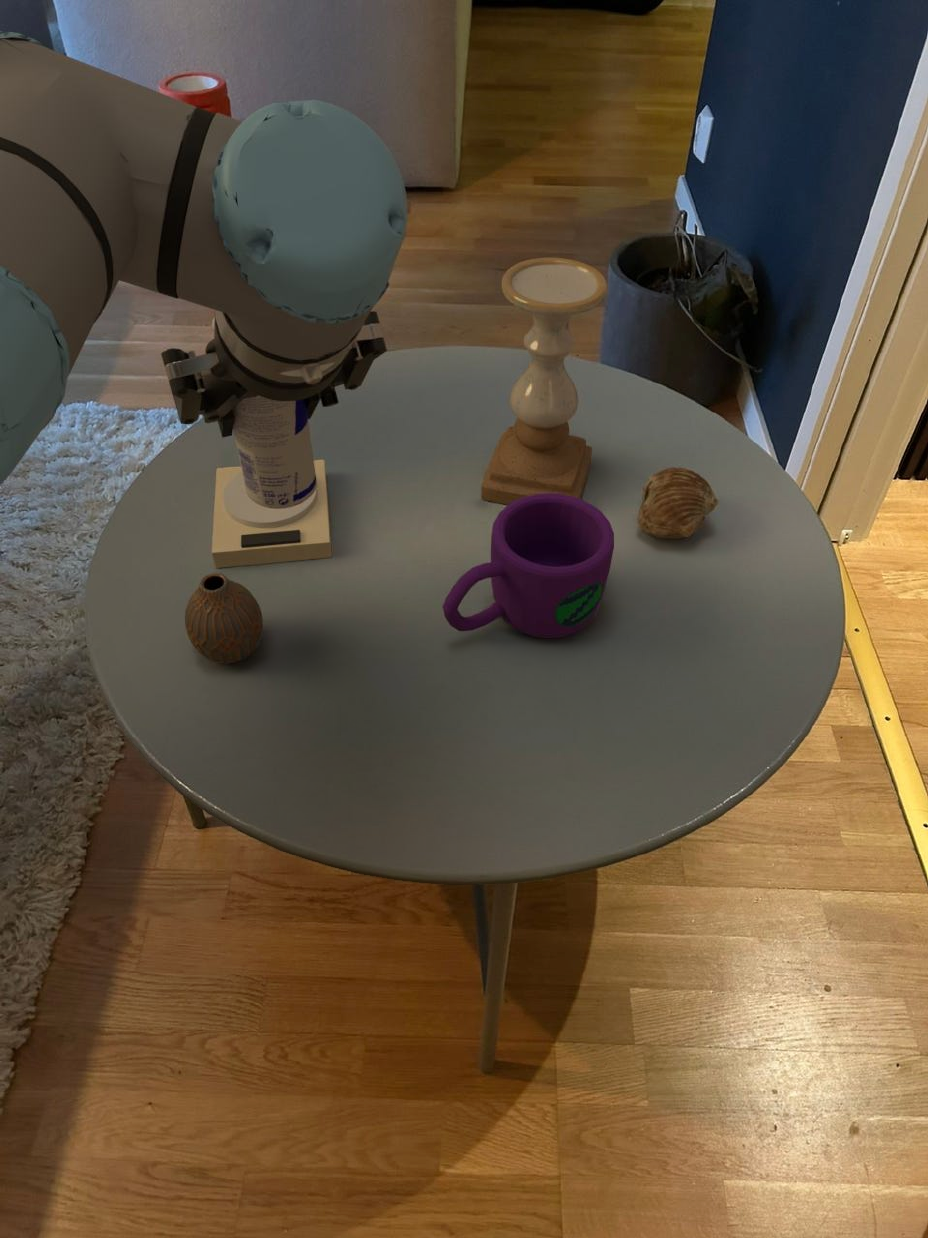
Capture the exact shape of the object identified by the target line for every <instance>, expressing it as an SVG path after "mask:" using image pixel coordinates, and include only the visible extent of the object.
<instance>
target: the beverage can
mask: <svg viewBox="0 0 928 1238" xmlns="http://www.w3.org/2000/svg"><path fill="white" fill-rule="evenodd" d="M214 323H215V316H214V317H213V319H212V321H211V327H212V330H213V332H214ZM232 412H233V415H234V424H233V434H234V435H233V436H234V439H235V444H236V449H237V452H238V459H239V463H240V464H239V465H240V466H241V468H242V473H243V478H244V483H245V487H246V492H247V495H248V497H249V498H250V499H251V500H252V501H253V502H255V503H256V504H258V505H261V506H264V507H267V508H272V509H283V508H289V507H293V506H296V505H299V504H301V503H303V502H304V501H306V500H307V499H308V498H309V497H310V496H311V495H312V494H313V493H314V491H315V490H316V487H317V480H316V473H315V466H314V460H315V459H314V454H313V453H314V452H313V446H312V437H311V431H310V423H309V419H308V415H307V408H306V401H305V399H301V400H296V401H276V400H271V399H267V398H264V397H261V396H259V395H258V396H257V397H251V398H244V399H243V400H242V401H241V402H239V403H238V404H237V405H236V406H235V407H234V408H233V409H232Z"/></svg>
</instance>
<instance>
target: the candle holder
mask: <svg viewBox="0 0 928 1238" xmlns="http://www.w3.org/2000/svg"><path fill="white" fill-rule="evenodd" d="M501 291H502V294H503V296H504V297H505V298H506V300H507V301H508V302H510V304H512V305H513V306H515V307H517V308H518V309H521V310H523V311H526V312H528V313H530V314H531V315H532V321H533V323H532V326H531V327H530V329H529V330H528V331H527V332H526V333H525V335H524V337H523V346H524V348H525V349H526V350H527V353H528V354H529V356H530V358H531V359H530V363H529V364H528V366H527V368H526V369H525V371H524V372H523V373H522V374H521V375H520V376H519V378H517V380H516V382H515V383H514V384H513V387H512V389H511V391H510V397H509V406H510V408H511V411H512V413H513V414H514V416H515V417H516V419H515V422H514V424H513V425H512V426H509V427H508V428H507V429H506V430H505V431H503V432H502V434H501V436H500V437H499V439H498V441H497V444H496V447H495V450H494V451H493V454H492V456H491V459H490V461H489V463H488V466H487V469H486V471H485V473H484V475H483V480H482V483H481V489H480V491H481V493H480V498H481V500H484V501H488V502H490V503H497V504H502V505H506V506H507V505H509V504H510V503H512V502H514V501H516V500H518V499H520V498H523V497H526V496H530V495H533V494H543V493H555V494H564V495H568V496H572V497H576V498H579V499H581V500H582V496H583V492H584V489H585V485H586V481H587V478H588V475H589V472H590V467H591V462H592V455H593V447H592V446H590V445H587V439H585V438H583V437H580V436H576V435H571V434H570V425H569V421H570V420H571V419H572V418H573V417H574V416H575V415H576V412H577V410H578V406H579V395H578V390H577V388H576V385H575V383H574V382H573V379H571V376H570V375H569V374H568V371H567V370H566V367H565V363H564V362H565V359H566V358H567V357H568V356H569V354H570V353H571V352H572V351H573V350H574V347H575V346H576V339H575V337H574V336H573V334H572V333H571V331H570V328H569V323H570V319H571V318H572V317H573V316H576V315H579V314H584V313H587V312H589V311H591V310H593V309H595V308H596V307H598V306H599V305H600V304H601V303H602V302H603V301H604V300H605V297H606V296H607V291H608V283H607V280H606V278H605V277H604V275H603V274H602V273H601V272H600V271H599V270H597V269H596V268H594V266H591V265H589V264H587V263H584V262H581V261H578V260H574V259H569V258H562V257H538V258H531V259H526V260H524V261H520V262H518V263H516V264H514V265H512V266H510V267H509V268H508V269H507V270H506V271H505V272H504V274H503V275H502V278H501Z"/></svg>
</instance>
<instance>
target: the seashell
mask: <svg viewBox="0 0 928 1238" xmlns="http://www.w3.org/2000/svg"><path fill="white" fill-rule="evenodd" d="M641 500H642V504H641V507H640V509H639V510H638V512H639V513H638V516H637V523H638V527H639V528H640V530H641V531H642V533H643V534H645V535H647V536H649V537H652V538H658V539H662V540H673V539H674V540H675V539H681V538H690V537H691V536H692V534H693V533H695V532H696V531H697V530H699V528H701V526H702V525H703V523H704V522H705V519H706V516H708V515H709V514H710V513H712V512H713V511H714V510H715V508H716V507H717V506H718V505H719V500H718V498H717V497H716V495H715V493H714V491H713V489H712V487H711V485H710V483H708V481H707V480H706V479H705V478H704V477H702V476H701V475H700V474H699V473H697V472H695V471H694V470H691V469H687V468H685V467H674V466H673V467H668V468H665V469H662V470H659V471H657V472H656V473H655V472H654V473H653V474H651V475H650V476H649V477H648V479H647V481H646V482H645V483H644V484H643V486H642V495H641Z"/></svg>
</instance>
